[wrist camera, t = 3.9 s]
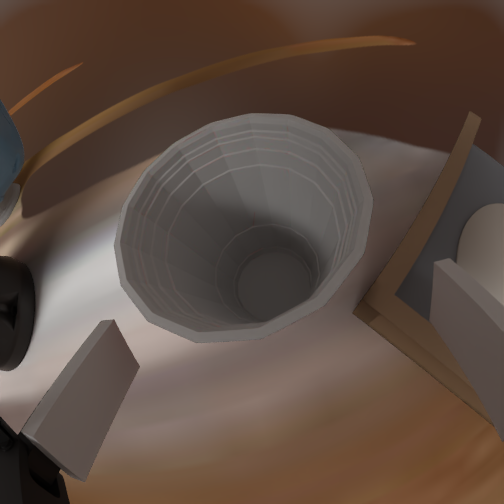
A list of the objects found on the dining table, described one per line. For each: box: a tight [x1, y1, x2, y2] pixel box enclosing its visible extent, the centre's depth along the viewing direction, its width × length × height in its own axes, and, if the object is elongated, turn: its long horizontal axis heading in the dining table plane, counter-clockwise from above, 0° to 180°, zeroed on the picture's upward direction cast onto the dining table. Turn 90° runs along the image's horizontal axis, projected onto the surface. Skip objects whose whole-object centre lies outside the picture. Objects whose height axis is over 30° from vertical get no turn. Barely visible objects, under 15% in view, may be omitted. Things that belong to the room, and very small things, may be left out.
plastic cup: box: [114, 113, 374, 343], centre depth 16 cm, size 11×11×12 cm
